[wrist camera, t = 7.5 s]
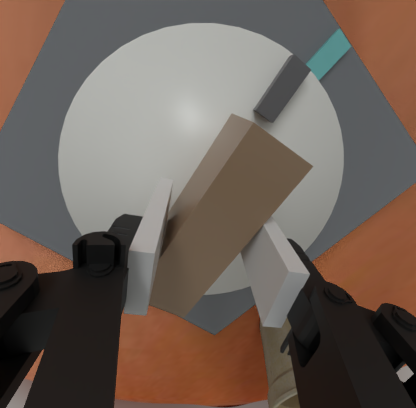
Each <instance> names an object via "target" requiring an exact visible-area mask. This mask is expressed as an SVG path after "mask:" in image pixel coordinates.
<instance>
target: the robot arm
mask: <svg viewBox="0 0 416 408" xmlns="http://www.w3.org/2000/svg"><path fill="white" fill-rule="evenodd" d="M172 186H173V180H172V179H167V178H161V177H160V178H159V181H158V183H157V185H156V188H155V190H154V192H153V195H152V197H151V199H150V202H149V204H148V206H147V209H146V211H145V213H144V216H143V217H142V216H136V215H129V214H123V215H121V216H120V217H118V218H116V219H115V221H114V222H113V224H112V225H111V227H110V228H109V230H108V231H107V232H106V231H99V232H92V233H88V234H85V235H83V236H81V237H79V238H78V239H76V240H75V242H74V243H73V244H72V253H73V269H70V270H65V271H60V272H51V273H42V274H38V272H37V268H36V267H35V266H34V265H33V264H31V263H28V262H25V261H9V262H4V263H0V408H6V407H7V405H8V404H9V402H10V400H11V398H12V397H13V396H14V394H15V392H16V391H17V389H18V387H19V386H20V384H21V383H22V381H23V380H24V378H25V376H26V375H27V373H28V372H29V370H30V368H31V367H32V365H33V364H34V362H35V361H36V359H37V357H38V356H39V354H40V353H41V351H42V350H43V349H45V350H44V352H43V355H42V358H41V361H40V364H39V366H38V369H37V372H36V375H35V377H34V380H33V383H32V386H31V389H30V391H29V394H28V397H27V400H26V403H25V405H24V408H114V400H115V388H116V375H117V362H118V349H119V337H120V324H121V315H122V312H123V309H124V314H135V315H146V314H147V310H148V305H149V301H150V296H151V292H152V287H153V282H154V278H155V273H156V269H157V264H158V260H159V255H160V251H161V246H162V241H163V237H164V232H165V228H166V223H167V218H168V211H169V205H170V199H171V192H172ZM240 253H241V256H242V259H243V263H244V266H245V269H246V273H247V276H248V279H249V283H250V286H251V289H252V293H253V296H254V299H255V303H256V306H257V309H258V313H259V316H260V319H261V323H262V326H265V327H275V328H282V326H283V324H284V322H285V320H286V318H288V321H289V323H290V325H291V329H290V331H289V333H288V334H287V336H286V338H285V340H284V341H283V343H282V345H281V347H280V353H284V351H285V349H286V348H287V346H288V345H289V351H288V353H287V355H290V356H291V361H292V367H293V372H294V378H295V383H296V389H297V394H298V400H299V405H300V408H416V318H415V317H414V316H413V315H412V314H410V313H409V312H407V311H406V310H405V309H403V308H400V307H398V306H396V305H393V304H389V303H384V304H381V306H380V307H379V308H378V309H377V311H376V312H374V311H372V310H369V309H366V308H363V307H361V306H358V305H357V304H356V302H355V301H354V300H353V298H352V297H351V296H350V295H349V294H348V293H347V292H346V291H345V290H343V289H342V288H340V287H339V286H337V285H335V284H332V283H330V282H326V281H325V280H324V279H323V277H322V276H321V274H320V273H319V272H318V270H317V269H316V267H315V266H314V265H313V263H312V262H311V261H310V259H309V258H308V256H307V255H305V252H304V251H303V249H302V248H301V246H300V245H298V244H297V243H296V242H295V241H294V240H292V239H289V238H286V237H285V235H284V234H283V232H282V231H281V229H280V228H279V226H278V225H277V223H276V222H275V220H274V219H273V217H272V216H271V217H270V218H269V219H268V220H267V221H266V223H265V224H264V225H263V226H262V227H261V228H260V230H259V231H258V232H257V233H256V234H255V235H254V237H253V238H252V239H251V240H250V241H249V242H248V244H247V245H246V246H245V247H244V248H243V249H242V251H241V252H240ZM405 363H406V364H407V366H408V367H409V368H410V369H411V370H412V372H413V373H414V374H413V375H412V376H411V377H410V378H409V379H408V380H407V381H406V382H404V383H403V382H402V381H400V379H399V377H398V375H397V374H396V372H397V371H398V370H399V369H400V368H401V367H402V366H403V365H404V364H405Z"/></svg>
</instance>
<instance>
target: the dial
mask: <svg viewBox="0 0 416 408" xmlns="http://www.w3.org/2000/svg"><path fill="white" fill-rule="evenodd" d="M58 168H59V179H60V184H61V190H62V194H63V197H64V200H65V203H66V206H67V209H68V211H69V213H70V215H71V217H72V219H73V222H74V224H75V225H76V227H77V228H78V230H79V232H80V233H81V235H82V236H83V235H85V234H88V233H92V232H99V231H106V232H107V231H108V230H109V228H110V227H111V225H112V224H113V222H114V221H115V219H116V218H118V217H120V216H121V215H123V214H129V215H136V216H142V217H143V216H144V213H145V211H146V209H147V206H148V204H149V202H150V199H151V197H152V195H153V192H154V190H155V188H156V185H157V183H158V181H159V178H160V177H161V178H167V179H172V180H173V186H172V192H171V199H170V205H169V211H168V218H167V223H166V228H165V232H164V237H163V241H162V246H161V251H160V255H159V260H158V264H157V269H156V273H155V278H154V282H153V287H152V292H151V296H150V301H149V305H151V306H153V307H156V308H159V309H161V310H164V311H167V312H169V313H172V314H175V315H177V316H180V317H183V318H184V317H185V316H186V315H187V314H188V312H189V311H190V310H191V309H192V308H193V307H194V305H195V304H196V303H197V302H198V301H199V300H200V298H201V297H202V296H203V295H212V294H220V293H227V292H232V291H236V290H240V289H243V288H246V287H249V286H250V283H249V279H248V276H247V273H246V269H245V266H244V263H243V259H242V256H241V253H240V252H241V251H242V249H243V248H244V247H245V246H246V245H247V244H248V242H249V241H250V240H251V239H252V238H253V237H254V235H255V234H256V233H257V232H258V231H259V230H260V228H261V227H262V226H263V225H264V224H265V223H266V221H267V220H268V219H269V218H270V217H271V216H272V217H273V219H274V220H275V222H276V223H277V225H278V226H279V228H280V229H281V231H282V232H283V234H284V235H285V237H286V238H289V239H292V240H294V241H295V242H296V243H297V244H298V245H300V246H301V248H302V249H303V251H304V252H305V251H306V250H307V248H308V247H309V246H310V245H311V244H312V243H313V242H314V241H315V239H316V238H317V236H318V235H319V234H320V232H321V231H322V229H323V228H324V226H325V224H326V223H327V221H328V219H329V217H330V215H331V213H332V211H333V208H334V206H335V203H336V201H337V198H338V194H339V190H340V187H341V183H342V175H343V168H344V147H343V140H342V133H341V128H340V125H339V121H338V118H337V114H336V111H335V109H334V107H333V105H332V103H331V101H330V98H329V96H328V94H327V92H326V91H325V89H324V88H323V86H322V85H321V83H320V82H319V81H318V79H317V78H316V76H315V75H314V74H313V73H312V72H311V69H310V68H309V67H308V66H307V65H306V64H305V63H303V62H302V61H301V60H300V59H299V58H298V57H297V56H296V55H295V54H292V53H291V52H290V51H288V50H287V49H286V48H284V47H283V46H281V45H280V44H278V43H276V42H274V41H272V40H270V39H268V38H267V37H265V36H263V35H261V34H258V33H255V32H252V31H249V30H246V29H243V28H240V27H235V26H229V25H223V24H217V23H188V24H182V25H176V26H170V27H165V28H162V29H159V30H156V31H153V32H150V33H147V34H144V35H142V36H140V37H138V38H136V39H134V40H132V41H131V42H129V43H127V44H125V45H123V46H121V47H120V48H119V49H117V50H116V51H115V52H114V53H112V54H111V55H110V56H108V57H107V58H106V59H105V60H103V61H102V62H101V63H100V64H99V65H98V66H97V67H96V69H95V70H94V71H93V72H92V73H91V74H90V75H89V76H88V77H87V78H86V80H85V81H84V83H83V84H82V86H81V87H80V89H79V90H78V92H77V94H76V95H75V97H74V99H73V101H72V103H71V105H70V108H69V110H68V112H67V114H66V117H65V120H64V124H63V128H62V131H61V135H60V143H59V151H58Z"/></svg>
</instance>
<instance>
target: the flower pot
mask: <svg viewBox="0 0 416 408" xmlns="http://www.w3.org/2000/svg"><path fill="white" fill-rule="evenodd" d="M290 329H291V325H290V323H289V321H288V318H286V320H285V322H284V324H283V326H282V328H275V327H265V326H262V323H261V320H260V332H261V338H262V344H263V351H264V357H265V364H266V371H267V378H268V385H269V391H268V404H269V408H300V405H299V400H298V394H297V389H296V383H295V378H294V372H293V367H292V361H291V356H290V355H287V353H288V351H289V345H288V346H287V348H286V349H285V351H284V353H280V347H281V345H282V343H283V341H284V340H285V338H286V336H287V334H288V333H289V331H290Z"/></svg>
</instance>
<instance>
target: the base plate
mask: <svg viewBox="0 0 416 408" xmlns="http://www.w3.org/2000/svg"><path fill="white" fill-rule="evenodd" d="M188 23H217V24H223V25H229V26H235V27H240V28H243V29H246V30H249V31H252V32H255V33H258V34H261V35H263V36H265V37H267V38H268V39H270V40H272V41H274V42H276V43H278V44H280V45H281V46H283V47H284V48H286V49H287V50H288V51H290V52H291V53H292V54H295V55H296V56H297V57H298V58H299V59H300V60H301V61H302V62H303V63H305V64H306V65H307V66H308V67H309V68H310V69H311V72H312V73H313V74H314V75H315V76H316V78H317V79H318V81H319V82H320V83H321V85H322V86H323V88H324V89H325V91H326V92H327V94H328V96H329V98H330V101H331V103H332V105H333V107H334V109H335V111H336V114H337V118H338V121H339V125H340V128H341V133H342V140H343V147H344V168H343V175H342V183H341V187H340V190H339V194H338V198H337V201H336V203H335V206H334V208H333V211H332V213H331V215H330V217H329V219H328V221H327V223H326V224H325V226H324V228H323V229H322V231H321V232H320V234H319V235H318V236H317V238H316V239H315V241H314V242H313V243H312V244H311V245H310V246H309V247H308V248H307V250H306V251H305V255H307V256H308V258H309V259H310V261H311V262H312V261H313V260H314V259H316V258H317V257H318V256H320V255H321V254H322V253H324V252H325V251H326V250H328V249H329V248H330V247H331V246H333V245H334V244H335V243H337V242H338V241H339V240H341V239H342V238H343V237H345V236H346V235H347V234H349V233H350V232H351V231H353V230H354V229H355V228H357V227H358V226H359V225H360V224H362V223H363V222H364V221H366V220H367V219H368V218H370V217H371V216H372V215H374V214H375V213H376V212H378V211H379V210H380V209H382V208H383V207H384V206H385V205H387V204H388V203H389V202H391V201H392V200H393V199H395V198H396V197H397V196H399V195H400V194H401V193H403V192H404V191H405V190H407V189H408V188H409V187H410V186H412V185H413V184H414V183H416V145H415V143H414V141H413V140H412V138H411V137H410V135H409V134H408V132H407V131H406V129H405V127H404V126H403V124H402V123H401V121H400V120H399V118H398V117H397V115H396V113H395V112H394V110H393V109H392V107H391V106H390V104H389V103H388V101H387V100H386V98H385V96H384V95H383V93H382V92H381V90H380V89H379V87H378V86H377V84H376V82H375V81H374V79H373V78H372V76H371V75H370V73H369V72H368V70H367V68H366V67H365V65H364V64H363V62H362V61H361V59H360V58H359V56H358V54H357V53H356V51H355V50H354V48H353V47H352V45H351V44H350V42H349V40H348V39H347V37H346V36H345V34H344V33H343V31H342V30H341V28H340V26H339V25H338V23H337V22H336V20H335V19H334V17H333V16H332V14H331V13H330V11H329V9H328V8H327V6H326V5H325V3H324V2H323V0H65V2H64V4H63V6H62V8H61V10H60V12H59V14H58V16H57V18H56V20H55V22H54V24H53V26H52V28H51V30H50V32H49V34H48V36H47V39H46V41H45V43H44V45H43V47H42V49H41V51H40V53H39V55H38V57H37V59H36V61H35V63H34V65H33V67H32V69H31V71H30V73H29V75H28V77H27V79H26V81H25V83H24V85H23V87H22V89H21V91H20V93H19V95H18V97H17V99H16V101H15V103H14V105H13V107H12V109H11V111H10V113H9V115H8V117H7V119H6V121H5V123H4V125H3V127H2V129H1V131H0V223H1V224H3V225H5V226H7V227H9V228H11V229H13V230H14V231H16V232H18V233H20V234H22V235H24V236H26V237H28V238H30V239H32V240H34V241H36V242H37V243H39V244H41V245H43V246H45V247H47V248H49V249H51V250H53V251H55V252H57V253H58V254H60V255H62V256H64V257H66V258H68V259H70V260H72V261H73V253H72V244H73V243H74V242H75V240H76V239H78V238H79V237H81V236H82V235H81V233H80V232H79V230H78V228H77V227H76V225H75V224H74V222H73V219H72V217H71V215H70V213H69V211H68V209H67V206H66V203H65V200H64V197H63V194H62V190H61V184H60V179H59V168H58V151H59V143H60V135H61V131H62V128H63V124H64V120H65V117H66V114H67V112H68V110H69V108H70V105H71V103H72V101H73V99H74V97H75V95H76V94H77V92H78V90H79V89H80V87H81V86H82V84H83V83H84V81H85V80H86V78H87V77H88V76H89V75H90V74H91V73H92V72H93V71H94V70H95V69H96V67H97V66H98V65H99V64H100V63H101V62H102V61H103V60H105V59H106V58H107V57H108V56H110V55H111V54H112V53H114V52H115V51H116V50H117V49H119V48H120V47H121V46H123V45H125V44H127V43H129V42H131V41H132V40H134V39H136V38H138V37H140V36H142V35H144V34H147V33H150V32H153V31H156V30H159V29H162V28H165V27H170V26H176V25H182V24H188ZM255 304H256V303H255V299H254V296H253V293H252V289H251V286H249V287H246V288H243V289H240V290H236V291H232V292H227V293H220V294H212V295H203V296H202V297H201V298H200V300H199V301H198V302H197V303H196V304H195V305H194V307H193V308H192V309H191V310H190V311H189V312H188V314H187V315H186V316H185V317H184V318H183V317H181V318H183V319H185V320H187V321H188V322H190V323H192V324H194V325H196V326H198V327H200V328H202V329H204V330H206V331H208V332H209V333H211V334H213V335H216V334H217V333H218V332H220V331H221V330H222V329H224V328H225V327H226V326H227V325H229V324H230V323H231V322H233V321H234V320H235V319H237V318H238V317H239V316H241V315H242V314H243V313H245V312H246V311H247V310H249V309H250V308H251V307H252V306H254V305H255ZM179 317H180V316H179Z"/></svg>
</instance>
